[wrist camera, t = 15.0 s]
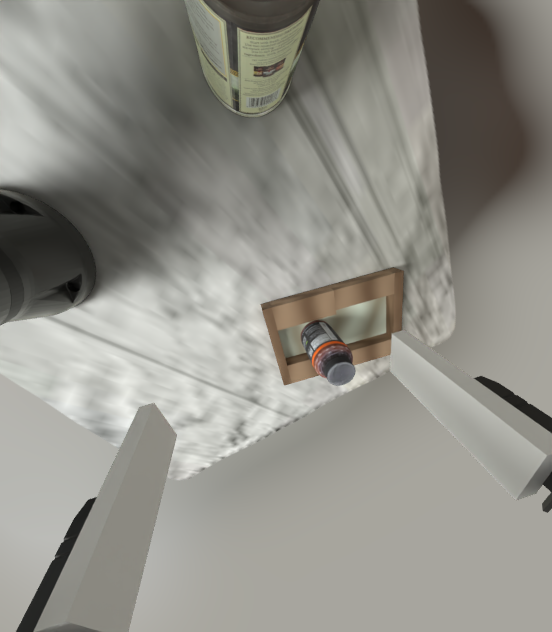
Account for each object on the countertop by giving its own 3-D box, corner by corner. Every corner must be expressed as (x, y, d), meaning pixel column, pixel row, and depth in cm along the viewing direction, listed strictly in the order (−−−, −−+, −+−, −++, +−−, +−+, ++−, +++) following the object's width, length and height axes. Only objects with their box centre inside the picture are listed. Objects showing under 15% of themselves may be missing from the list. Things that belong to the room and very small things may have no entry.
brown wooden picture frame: (281, 376, 42) (284, 385, 40) (260, 304, 35) (262, 310, 33) (392, 344, 43) (400, 351, 41) (393, 267, 36) (403, 270, 34)
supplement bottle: (334, 340, 40) (365, 383, 30) (304, 351, 40) (325, 397, 30) (327, 313, 38) (359, 350, 27) (295, 325, 38) (315, 366, 27)
